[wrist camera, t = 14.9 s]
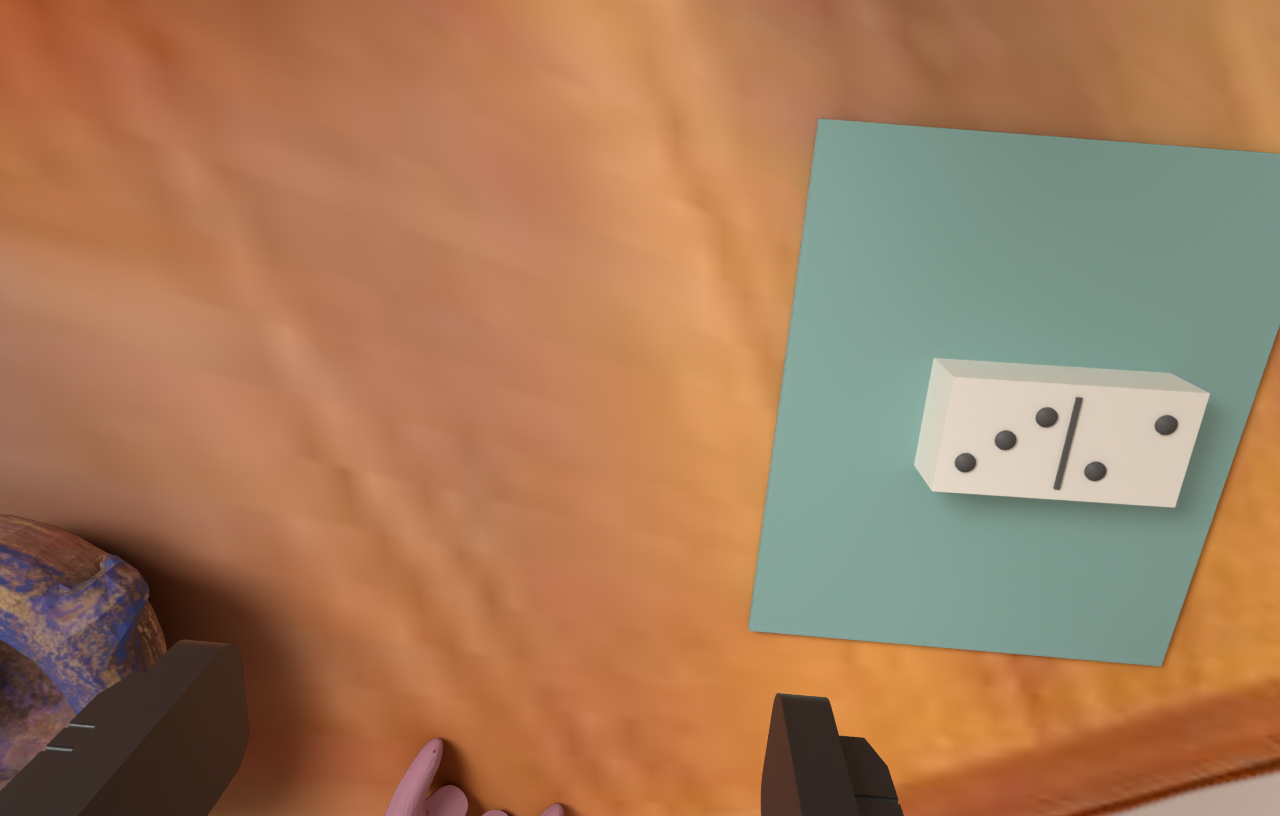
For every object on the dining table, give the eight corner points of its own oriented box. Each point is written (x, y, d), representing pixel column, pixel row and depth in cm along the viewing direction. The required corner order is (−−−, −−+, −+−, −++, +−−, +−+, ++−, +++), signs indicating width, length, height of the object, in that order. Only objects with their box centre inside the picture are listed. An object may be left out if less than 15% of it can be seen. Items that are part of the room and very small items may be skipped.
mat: (818, 118, 35) (820, 118, 35) (1327, 157, 35) (1337, 158, 34) (748, 624, 44) (749, 630, 44) (1155, 659, 44) (1161, 666, 43)
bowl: (217, 767, 49) (109, 920, 40) (-81, 699, 48) (-264, 840, 39) (240, 510, 43) (119, 619, 34) (-100, 429, 42) (-321, 517, 33)
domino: (955, 378, 35) (1212, 394, 35) (933, 357, 38) (1170, 372, 38) (933, 492, 37) (1177, 509, 37) (914, 464, 40) (1139, 480, 40)
